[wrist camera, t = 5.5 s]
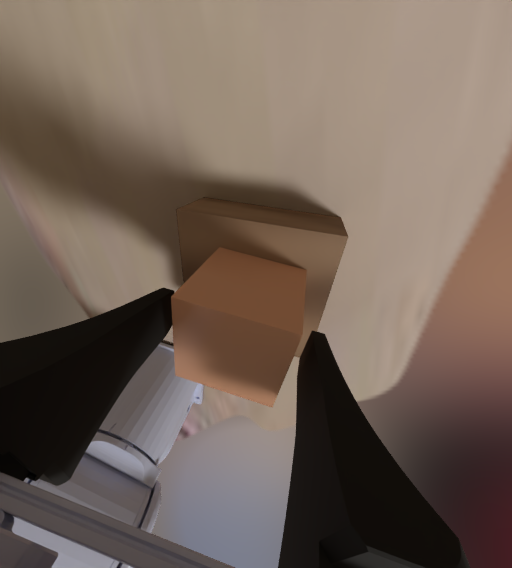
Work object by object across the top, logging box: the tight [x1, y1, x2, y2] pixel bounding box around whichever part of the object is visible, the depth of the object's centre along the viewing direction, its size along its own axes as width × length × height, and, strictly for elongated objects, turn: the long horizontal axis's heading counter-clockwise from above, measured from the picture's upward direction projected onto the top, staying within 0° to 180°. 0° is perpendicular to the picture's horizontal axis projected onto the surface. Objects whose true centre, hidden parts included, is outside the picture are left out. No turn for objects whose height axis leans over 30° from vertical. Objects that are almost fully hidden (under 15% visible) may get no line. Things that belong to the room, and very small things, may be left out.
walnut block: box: [176, 197, 348, 357], centre depth 15 cm, size 9×9×4 cm
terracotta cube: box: [171, 247, 307, 407], centre depth 11 cm, size 5×5×5 cm
